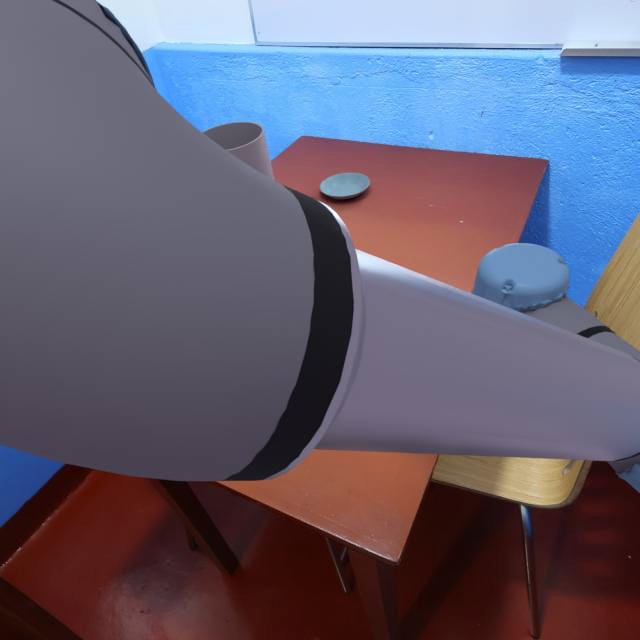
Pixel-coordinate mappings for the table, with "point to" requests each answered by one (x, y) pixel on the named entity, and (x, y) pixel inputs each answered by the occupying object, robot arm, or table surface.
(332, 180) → the saucer
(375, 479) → the table surface
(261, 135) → the cylinder vase
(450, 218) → the table surface
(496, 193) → the table surface
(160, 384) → the robot arm
